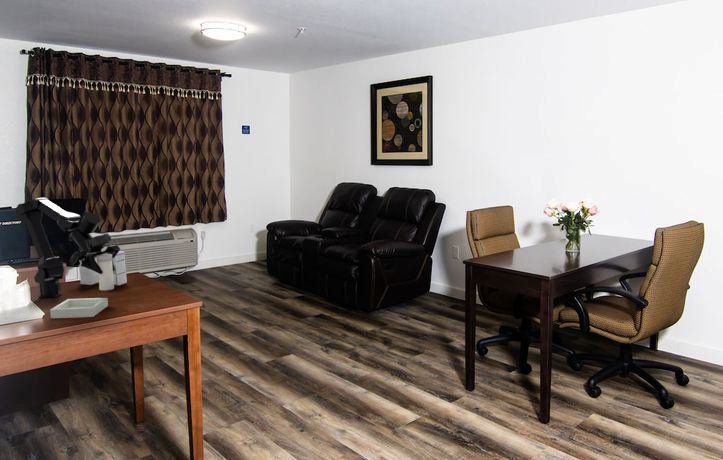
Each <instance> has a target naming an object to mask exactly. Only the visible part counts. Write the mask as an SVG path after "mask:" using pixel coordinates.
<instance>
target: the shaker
mask: <svg viewBox="0 0 723 460" xmlns="http://www.w3.org/2000/svg"><path fill="white" fill-rule="evenodd" d="M97 264H98V265H99V267H100V268H101V270H102V272H103V273H102V274H99V273H98V278H99V283H98V286H99V287H98V289H99V291H111V290H114V289H115V285H114V281H113V267H112V254H100V255H97Z"/></svg>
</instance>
